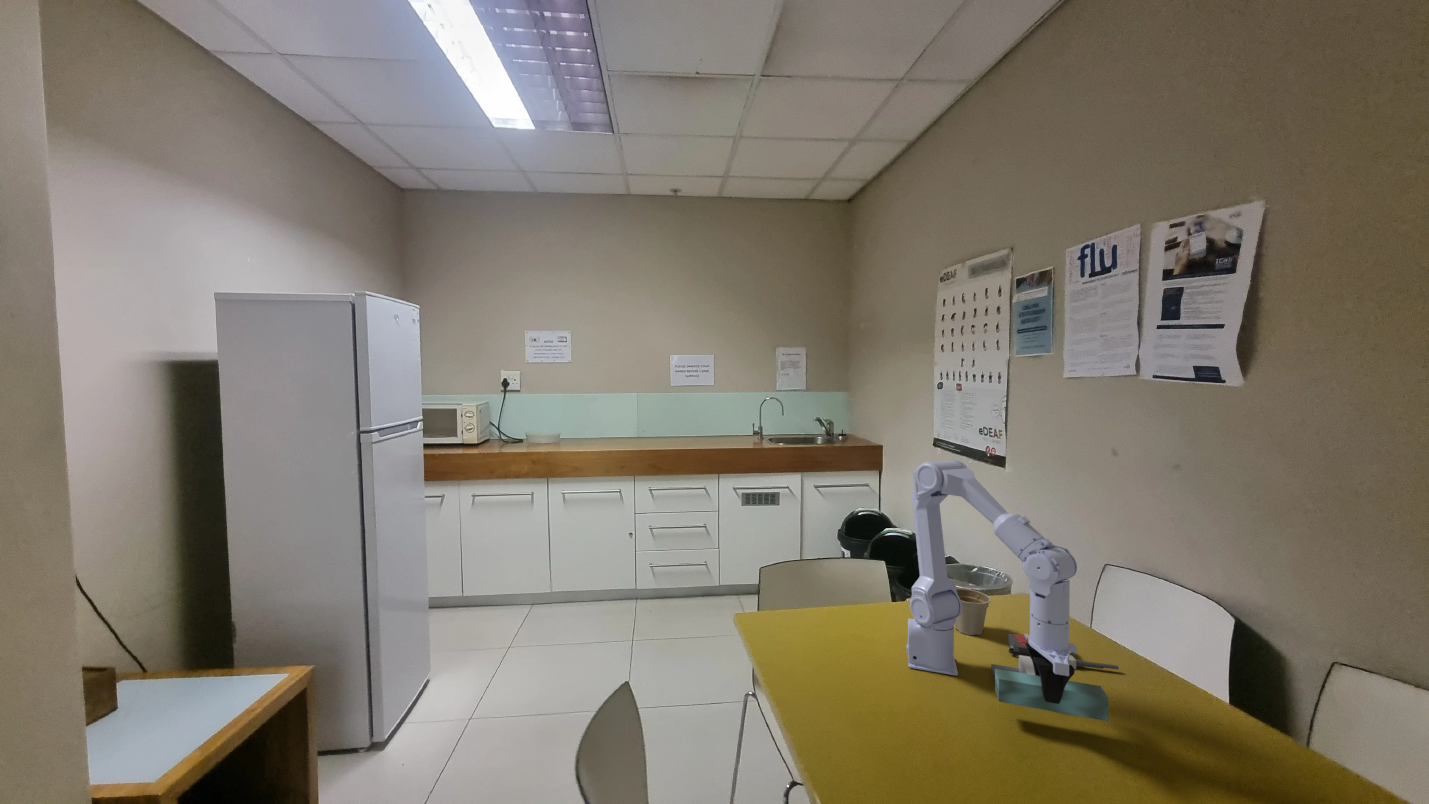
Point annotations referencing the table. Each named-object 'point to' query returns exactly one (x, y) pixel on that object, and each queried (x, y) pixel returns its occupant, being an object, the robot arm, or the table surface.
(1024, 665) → the stand
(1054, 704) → the teal bar
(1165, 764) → the table surface
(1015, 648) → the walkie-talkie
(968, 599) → the flower pot
